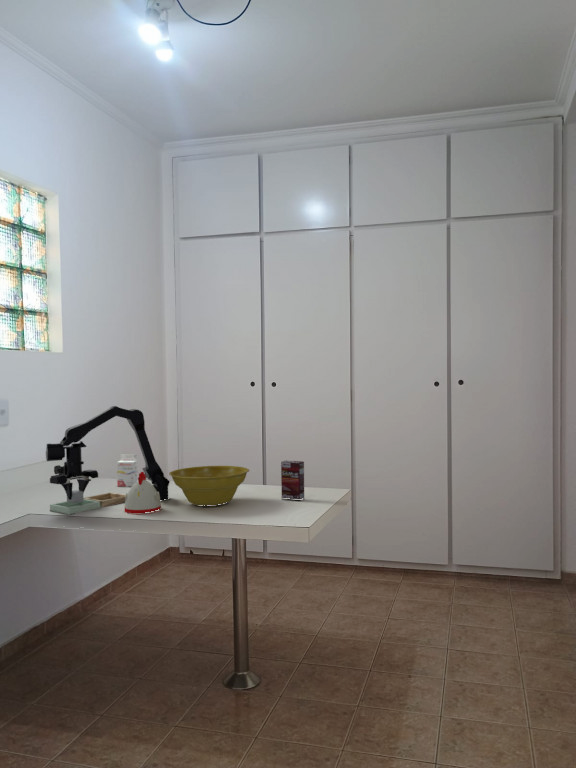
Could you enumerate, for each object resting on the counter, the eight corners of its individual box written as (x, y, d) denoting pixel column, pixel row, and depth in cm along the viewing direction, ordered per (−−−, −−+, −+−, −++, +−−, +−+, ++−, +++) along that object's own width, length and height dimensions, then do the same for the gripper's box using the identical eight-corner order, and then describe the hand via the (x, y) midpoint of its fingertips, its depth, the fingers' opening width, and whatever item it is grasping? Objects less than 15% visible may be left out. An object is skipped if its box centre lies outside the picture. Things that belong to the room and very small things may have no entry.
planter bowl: (164, 499, 278) (163, 467, 278) (238, 493, 289) (237, 462, 288) (177, 515, 248) (176, 479, 247) (259, 507, 258) (259, 473, 258)
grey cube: (83, 501, 263) (83, 491, 262) (73, 503, 259) (73, 493, 259) (76, 500, 265) (76, 490, 265) (66, 502, 262) (66, 492, 262)
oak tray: (130, 501, 276) (130, 495, 276) (102, 507, 264) (102, 501, 264) (110, 498, 284) (110, 492, 283) (82, 504, 272) (82, 498, 272)
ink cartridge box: (116, 486, 312) (116, 455, 311) (120, 484, 317) (119, 454, 316) (134, 486, 311) (133, 455, 311) (138, 484, 316) (137, 454, 315)
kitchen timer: (119, 514, 252) (118, 475, 252) (130, 506, 266) (129, 469, 265) (156, 514, 251) (155, 474, 251) (164, 506, 265) (163, 469, 265)
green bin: (100, 508, 264) (100, 501, 264) (69, 514, 253) (69, 508, 253) (80, 504, 272) (80, 498, 272) (50, 510, 261) (49, 504, 260)
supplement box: (281, 500, 273) (280, 461, 272) (286, 497, 277) (285, 460, 276) (299, 501, 269) (299, 462, 268) (305, 499, 273) (304, 461, 272)
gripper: (81, 455, 274) (83, 492, 274) (41, 460, 259) (42, 500, 260) (98, 456, 267) (99, 495, 268) (57, 462, 252) (58, 503, 253)
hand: (75, 498), depth 262 cm, fingers closed on grey cube, 4 cm apart
